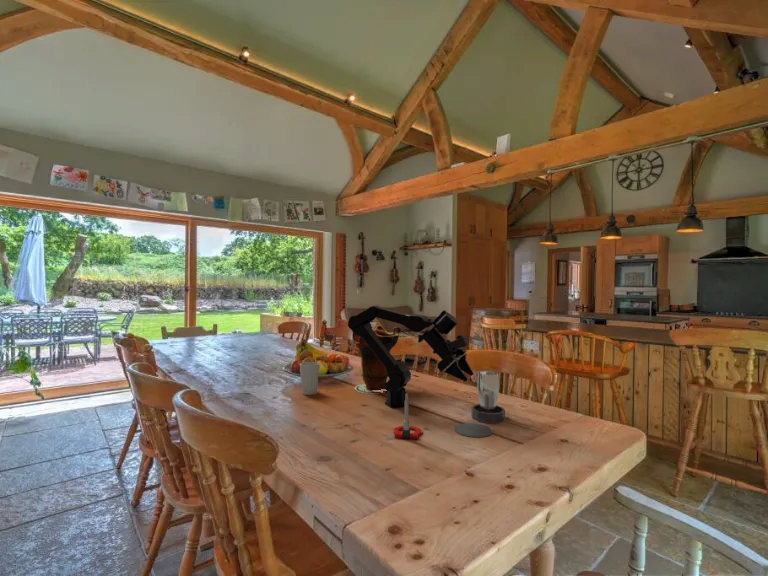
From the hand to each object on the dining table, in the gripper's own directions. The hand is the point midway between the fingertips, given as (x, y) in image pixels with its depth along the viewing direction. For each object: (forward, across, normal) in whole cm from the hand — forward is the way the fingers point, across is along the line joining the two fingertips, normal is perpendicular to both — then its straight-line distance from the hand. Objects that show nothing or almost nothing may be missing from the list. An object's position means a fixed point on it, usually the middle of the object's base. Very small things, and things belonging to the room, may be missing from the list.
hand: (469, 377), depth 132 cm
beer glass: (+14, 0, +5) cm, 14 cm away
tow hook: (0, -24, +19) cm, 31 cm away
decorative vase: (-23, +18, +41) cm, 50 cm away
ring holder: (+13, 0, +5) cm, 14 cm away
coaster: (+12, -14, +6) cm, 19 cm away
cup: (-38, +1, +56) cm, 68 cm away
